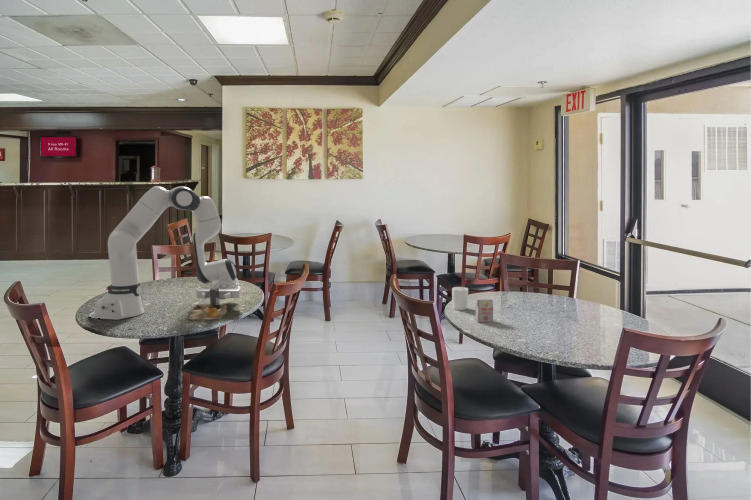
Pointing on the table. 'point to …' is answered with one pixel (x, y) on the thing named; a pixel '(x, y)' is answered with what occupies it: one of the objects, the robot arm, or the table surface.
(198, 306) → the wooden divided box
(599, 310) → the table surface
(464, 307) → the white cup
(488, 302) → the red and white carton
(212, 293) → the block
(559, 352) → the table surface
